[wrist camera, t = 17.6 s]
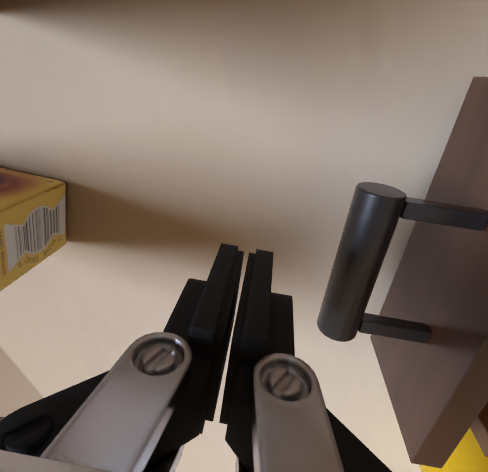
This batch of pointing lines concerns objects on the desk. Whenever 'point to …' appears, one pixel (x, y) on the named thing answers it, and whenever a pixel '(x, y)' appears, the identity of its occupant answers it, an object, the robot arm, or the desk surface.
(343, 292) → the drawer
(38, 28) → the desk surface
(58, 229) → the candy box
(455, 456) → the pepper
